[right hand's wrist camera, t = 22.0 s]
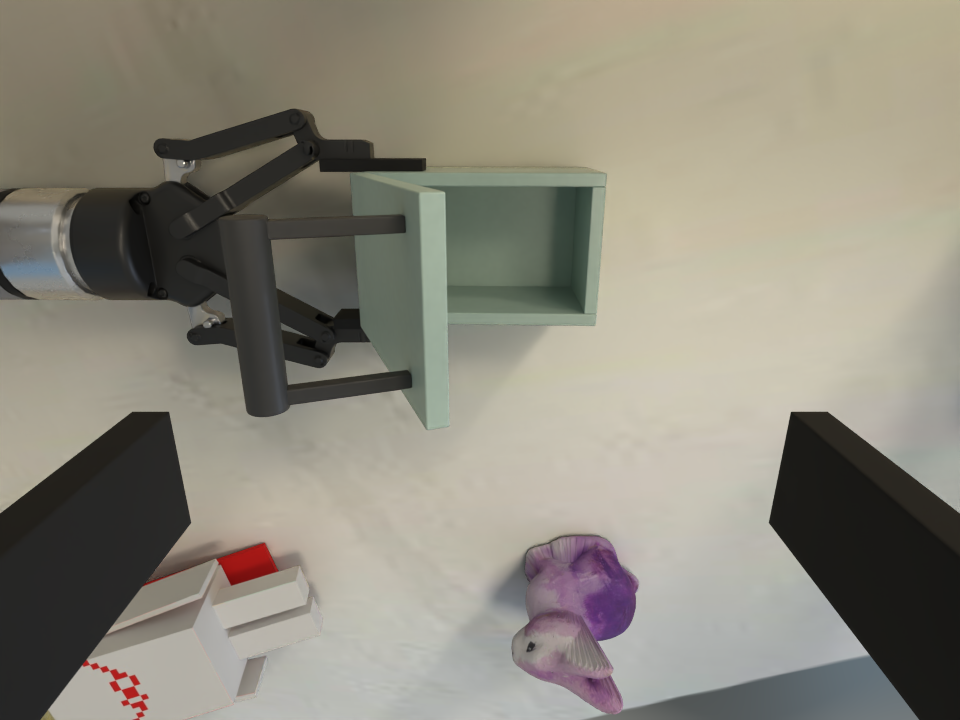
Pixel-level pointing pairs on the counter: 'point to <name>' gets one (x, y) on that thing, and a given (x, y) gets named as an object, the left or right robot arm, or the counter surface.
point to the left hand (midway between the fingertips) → (426, 245)
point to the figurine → (575, 616)
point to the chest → (519, 242)
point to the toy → (192, 642)
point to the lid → (381, 288)
